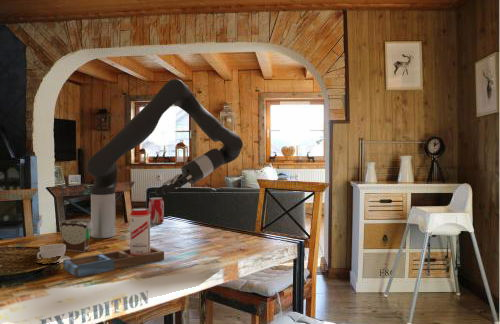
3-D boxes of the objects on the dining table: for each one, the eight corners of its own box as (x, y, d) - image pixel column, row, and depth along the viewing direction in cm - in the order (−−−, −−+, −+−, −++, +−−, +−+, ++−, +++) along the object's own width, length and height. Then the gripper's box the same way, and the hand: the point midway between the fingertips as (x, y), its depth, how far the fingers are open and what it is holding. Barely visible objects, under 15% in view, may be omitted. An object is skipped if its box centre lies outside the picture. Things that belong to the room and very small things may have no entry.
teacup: (57, 255, 132) (57, 241, 132) (77, 259, 127) (77, 245, 127) (28, 263, 123) (27, 248, 123) (47, 267, 118) (47, 252, 118)
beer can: (132, 256, 130) (132, 207, 129) (151, 255, 130) (151, 207, 130) (128, 261, 124) (127, 210, 123) (148, 261, 124) (148, 210, 124)
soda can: (160, 224, 185) (160, 199, 185) (146, 224, 186) (145, 198, 186) (166, 222, 192) (166, 197, 192) (152, 221, 193) (152, 197, 193)
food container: (100, 248, 141) (100, 220, 140) (88, 252, 135) (87, 223, 135) (72, 245, 145) (72, 218, 144) (59, 249, 139) (59, 221, 139)
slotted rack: (63, 268, 117) (63, 257, 117) (148, 252, 135) (148, 243, 135) (76, 277, 108) (76, 265, 108) (165, 259, 126) (164, 249, 126)
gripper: (185, 162, 148) (148, 184, 140) (200, 157, 135) (160, 181, 127) (195, 179, 149) (159, 202, 141) (210, 176, 136) (172, 201, 129)
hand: (159, 192), depth 134 cm, fingers open, 8 cm apart
